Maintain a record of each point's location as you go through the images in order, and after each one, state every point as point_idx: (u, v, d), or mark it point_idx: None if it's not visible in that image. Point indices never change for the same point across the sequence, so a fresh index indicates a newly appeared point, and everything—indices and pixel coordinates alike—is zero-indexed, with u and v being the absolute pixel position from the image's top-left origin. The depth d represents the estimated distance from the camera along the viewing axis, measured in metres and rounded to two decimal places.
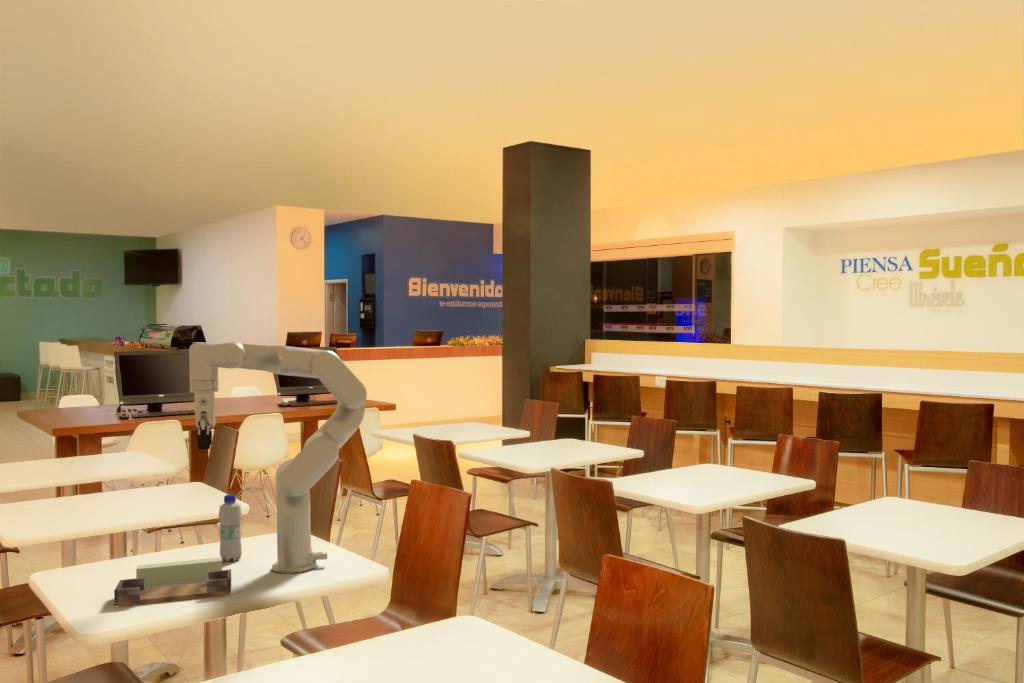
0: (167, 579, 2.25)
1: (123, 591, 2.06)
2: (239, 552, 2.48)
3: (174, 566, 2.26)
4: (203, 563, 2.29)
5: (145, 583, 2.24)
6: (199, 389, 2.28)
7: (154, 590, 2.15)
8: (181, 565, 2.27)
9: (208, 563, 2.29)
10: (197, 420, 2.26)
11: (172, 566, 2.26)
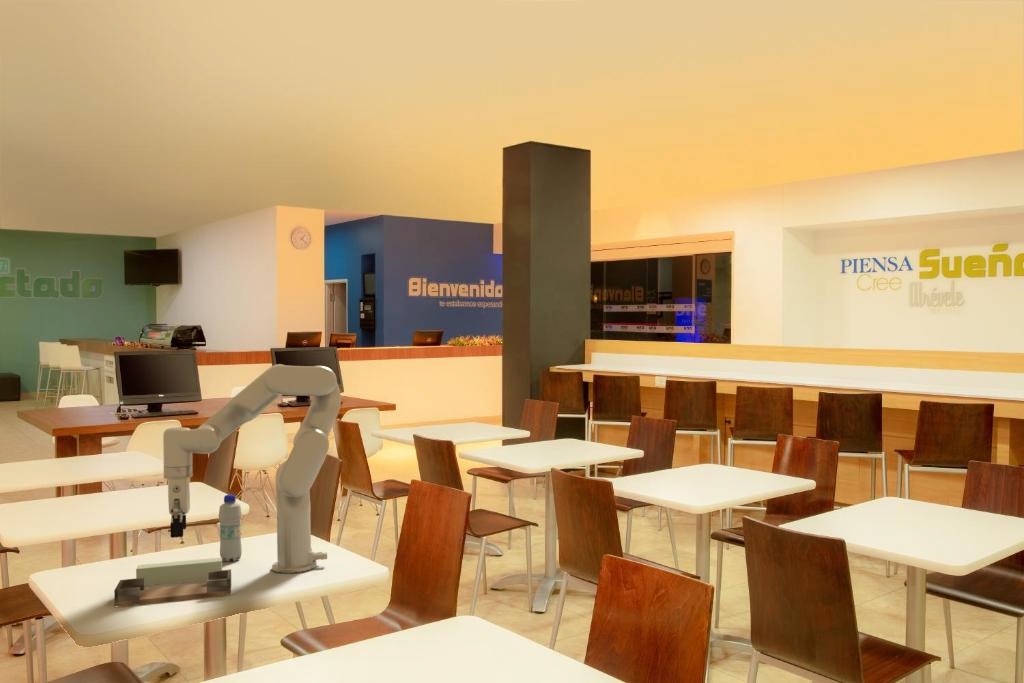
0: (167, 579, 2.25)
1: (123, 591, 2.06)
2: (239, 552, 2.48)
3: (174, 566, 2.26)
4: (203, 563, 2.28)
5: (145, 583, 2.24)
6: (173, 476, 2.25)
7: (154, 590, 2.15)
8: (181, 565, 2.27)
9: (208, 563, 2.29)
10: (170, 508, 2.23)
11: (172, 566, 2.26)
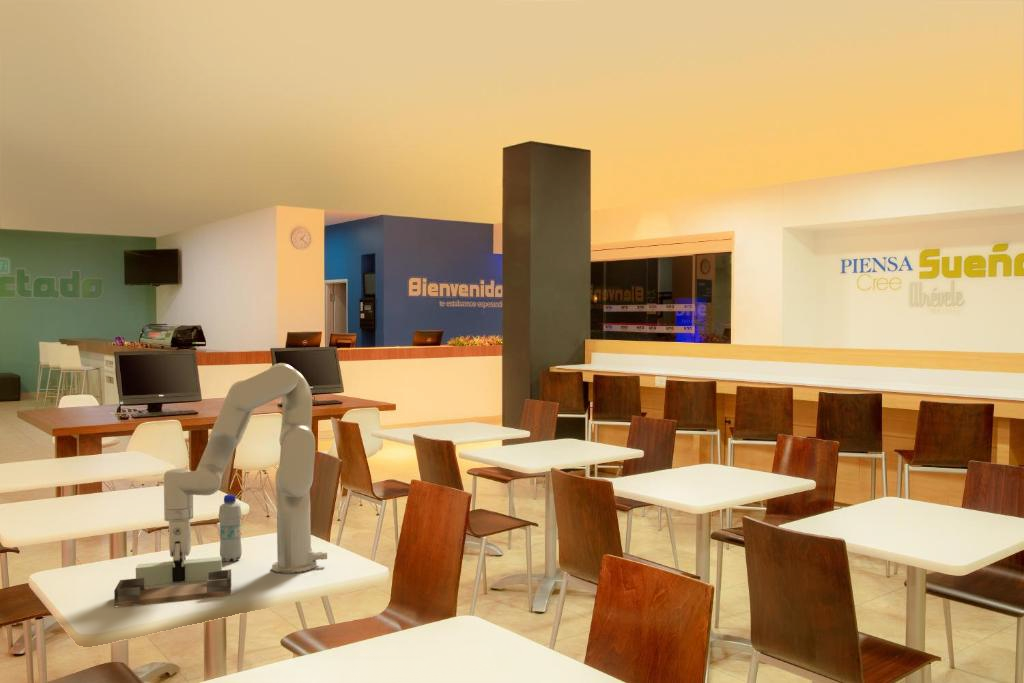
0: (166, 578, 2.25)
1: (123, 591, 2.06)
2: (239, 552, 2.48)
3: None
4: (202, 562, 2.28)
5: (144, 582, 2.24)
6: (173, 518, 2.25)
7: (154, 590, 2.15)
8: None
9: (207, 562, 2.29)
10: (171, 555, 2.24)
11: (171, 565, 2.26)
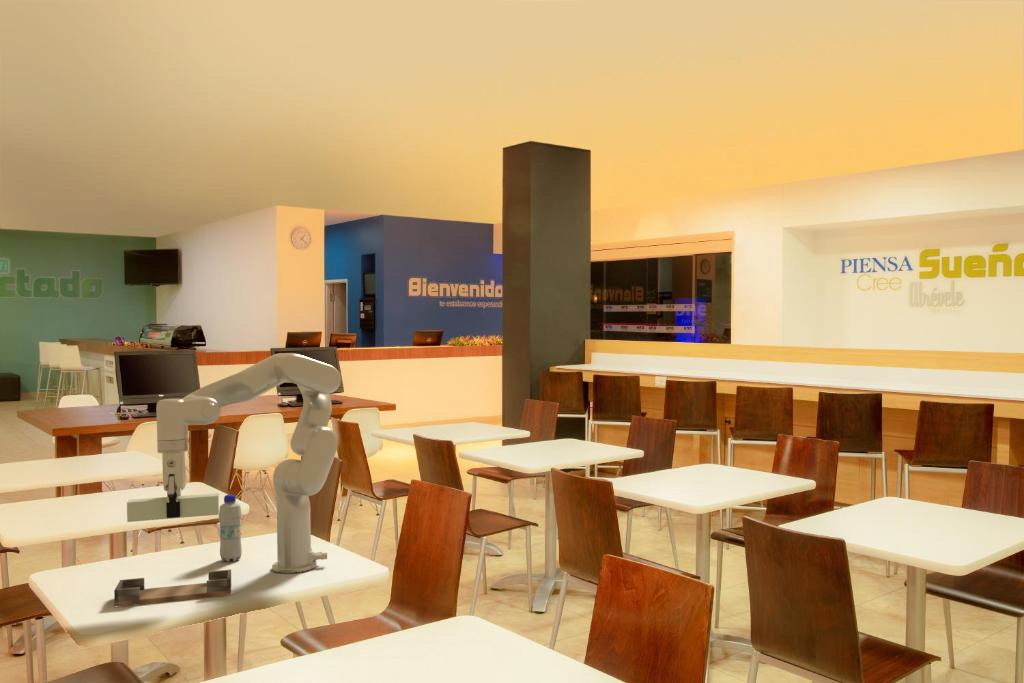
0: (160, 514, 2.11)
1: (123, 591, 2.06)
2: (239, 552, 2.48)
3: None
4: (198, 498, 2.14)
5: (136, 518, 2.10)
6: (167, 449, 2.10)
7: (154, 590, 2.15)
8: None
9: (203, 498, 2.14)
10: (165, 488, 2.10)
11: (165, 500, 2.12)
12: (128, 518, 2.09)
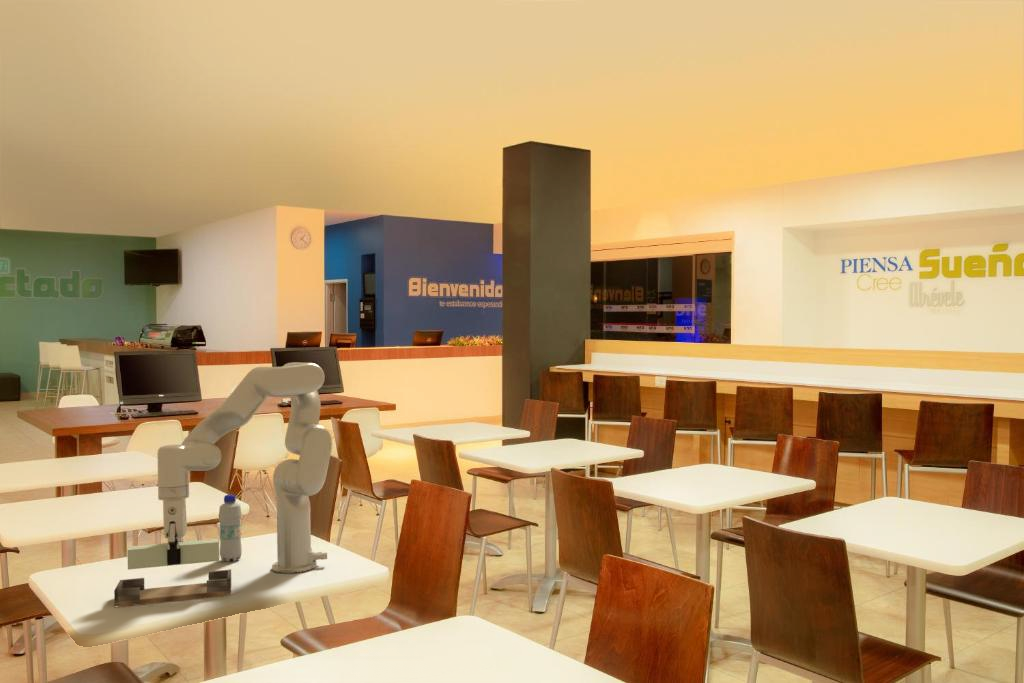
0: (160, 561, 2.11)
1: (123, 591, 2.06)
2: (239, 552, 2.48)
3: None
4: (199, 544, 2.14)
5: (137, 565, 2.09)
6: (168, 497, 2.10)
7: (154, 590, 2.15)
8: None
9: (204, 544, 2.14)
10: None
11: (166, 547, 2.12)
12: (129, 565, 2.09)
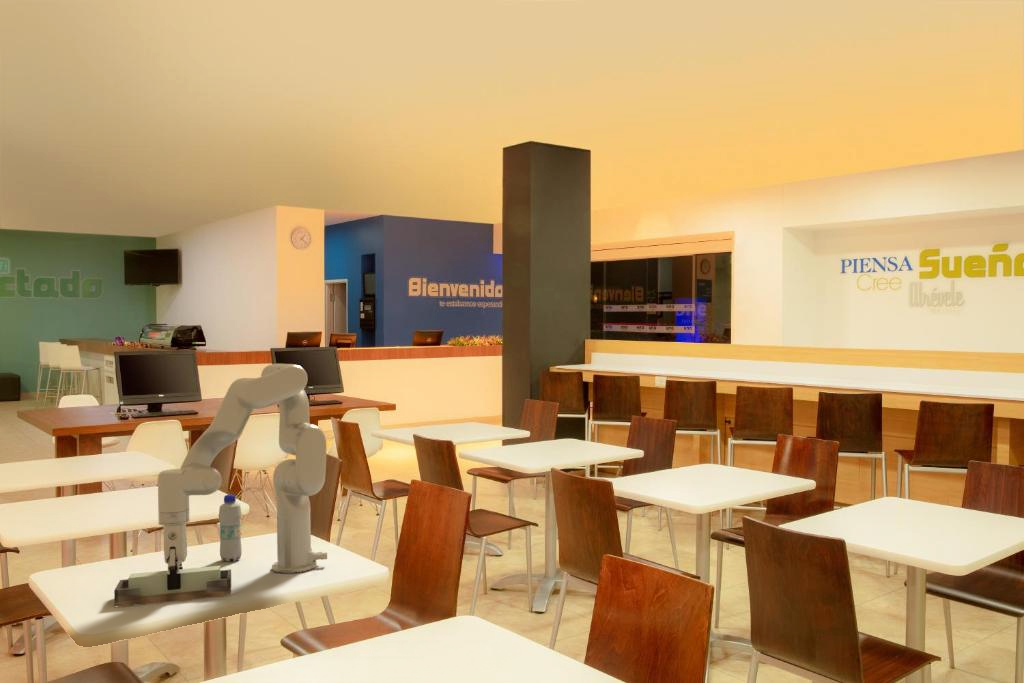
0: (161, 589, 2.11)
1: (123, 591, 2.06)
2: (239, 552, 2.48)
3: None
4: (200, 572, 2.14)
5: None
6: (168, 522, 2.10)
7: None
8: None
9: (205, 572, 2.14)
10: (166, 560, 2.09)
11: None
12: None
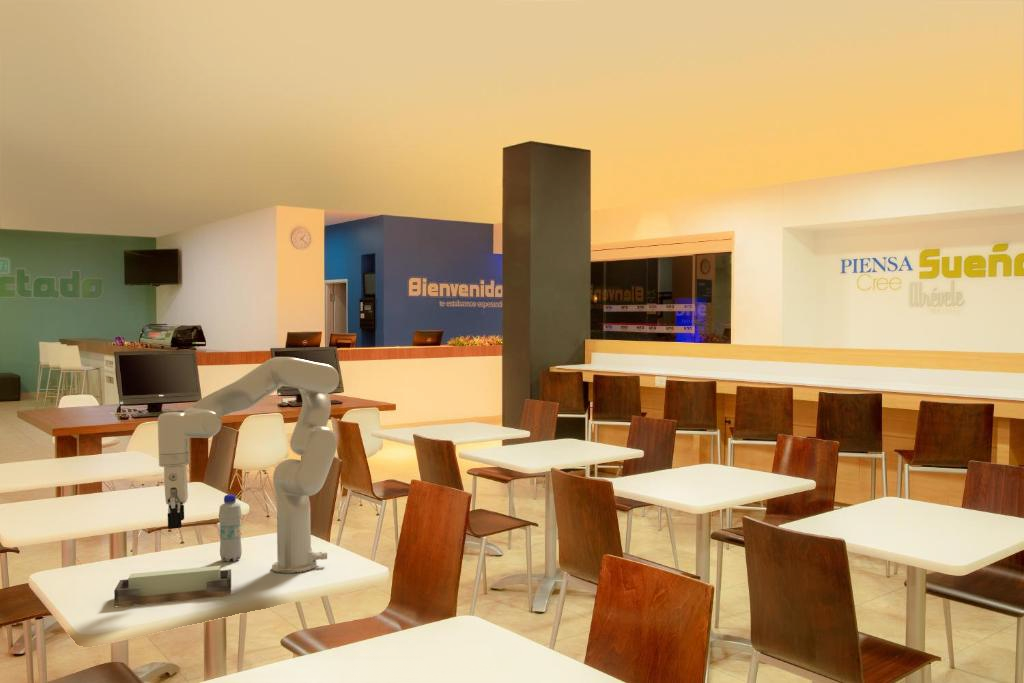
0: (161, 589, 2.11)
1: (123, 591, 2.06)
2: (239, 552, 2.48)
3: (169, 575, 2.12)
4: (200, 572, 2.14)
5: None
6: (169, 463, 2.11)
7: None
8: (176, 574, 2.12)
9: (205, 572, 2.14)
10: (167, 497, 2.10)
11: (167, 575, 2.12)
12: None
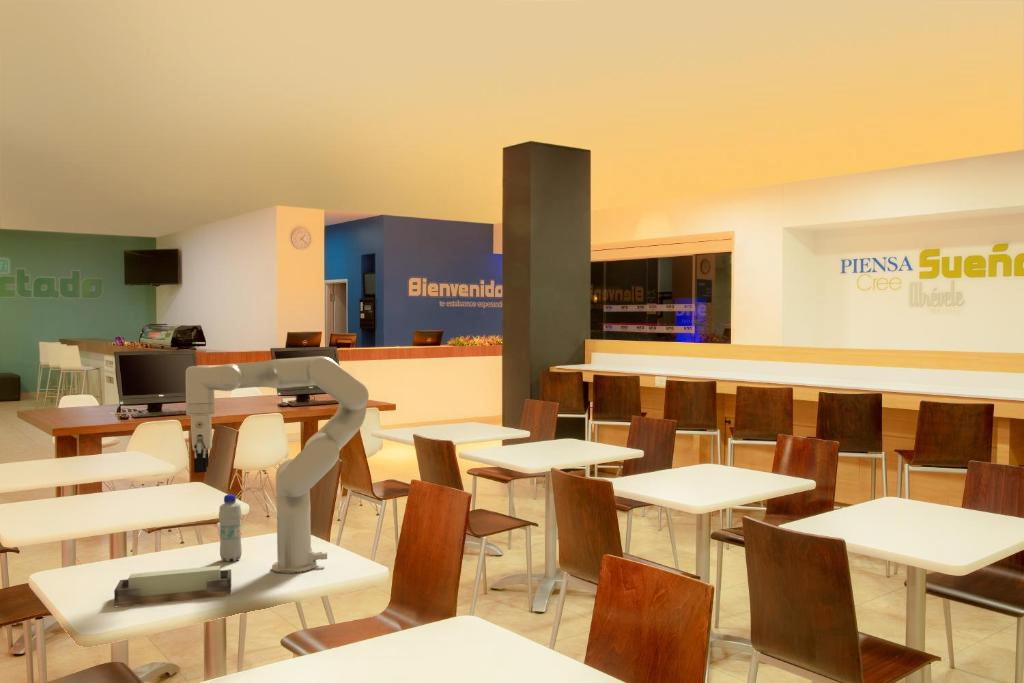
0: (161, 589, 2.11)
1: (123, 591, 2.06)
2: (239, 552, 2.48)
3: (169, 575, 2.12)
4: (200, 572, 2.14)
5: None
6: (195, 412, 2.27)
7: None
8: (176, 574, 2.12)
9: (205, 572, 2.14)
10: (193, 443, 2.26)
11: (167, 575, 2.12)
12: None
